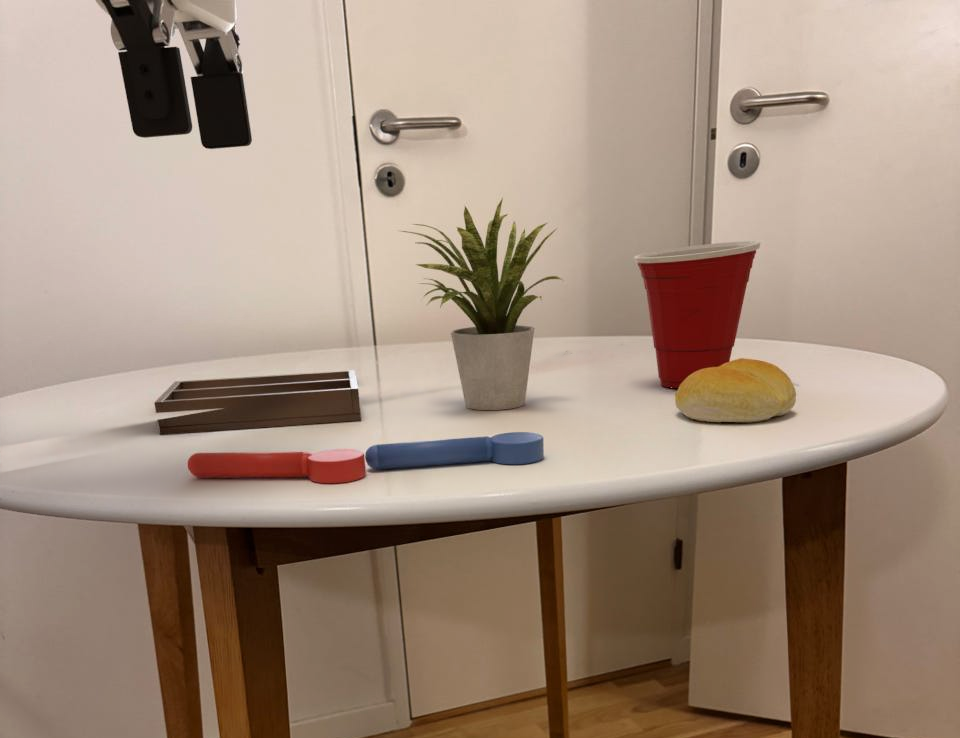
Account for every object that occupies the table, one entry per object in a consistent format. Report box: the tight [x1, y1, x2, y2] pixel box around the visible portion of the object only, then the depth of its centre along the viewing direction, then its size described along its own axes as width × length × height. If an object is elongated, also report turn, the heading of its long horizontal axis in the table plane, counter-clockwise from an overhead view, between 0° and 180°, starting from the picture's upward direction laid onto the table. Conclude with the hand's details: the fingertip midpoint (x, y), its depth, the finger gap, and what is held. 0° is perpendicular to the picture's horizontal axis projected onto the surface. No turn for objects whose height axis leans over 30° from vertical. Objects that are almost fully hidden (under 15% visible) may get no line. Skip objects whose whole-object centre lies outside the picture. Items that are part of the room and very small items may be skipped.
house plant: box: [396, 196, 563, 411], centre depth 79 cm, size 14×14×16 cm
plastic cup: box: [632, 240, 761, 389], centre depth 84 cm, size 11×11×12 cm
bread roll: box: [674, 357, 797, 423], centre depth 72 cm, size 8×9×4 cm
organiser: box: [153, 369, 362, 436], centre depth 81 cm, size 16×11×3 cm
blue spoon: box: [364, 431, 545, 470], centre depth 62 cm, size 12×4×2 cm, turn 99°
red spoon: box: [187, 448, 367, 484], centre depth 60 cm, size 12×4×2 cm, turn 82°
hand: (198, 141), depth 55 cm, fingers open, 9 cm apart
